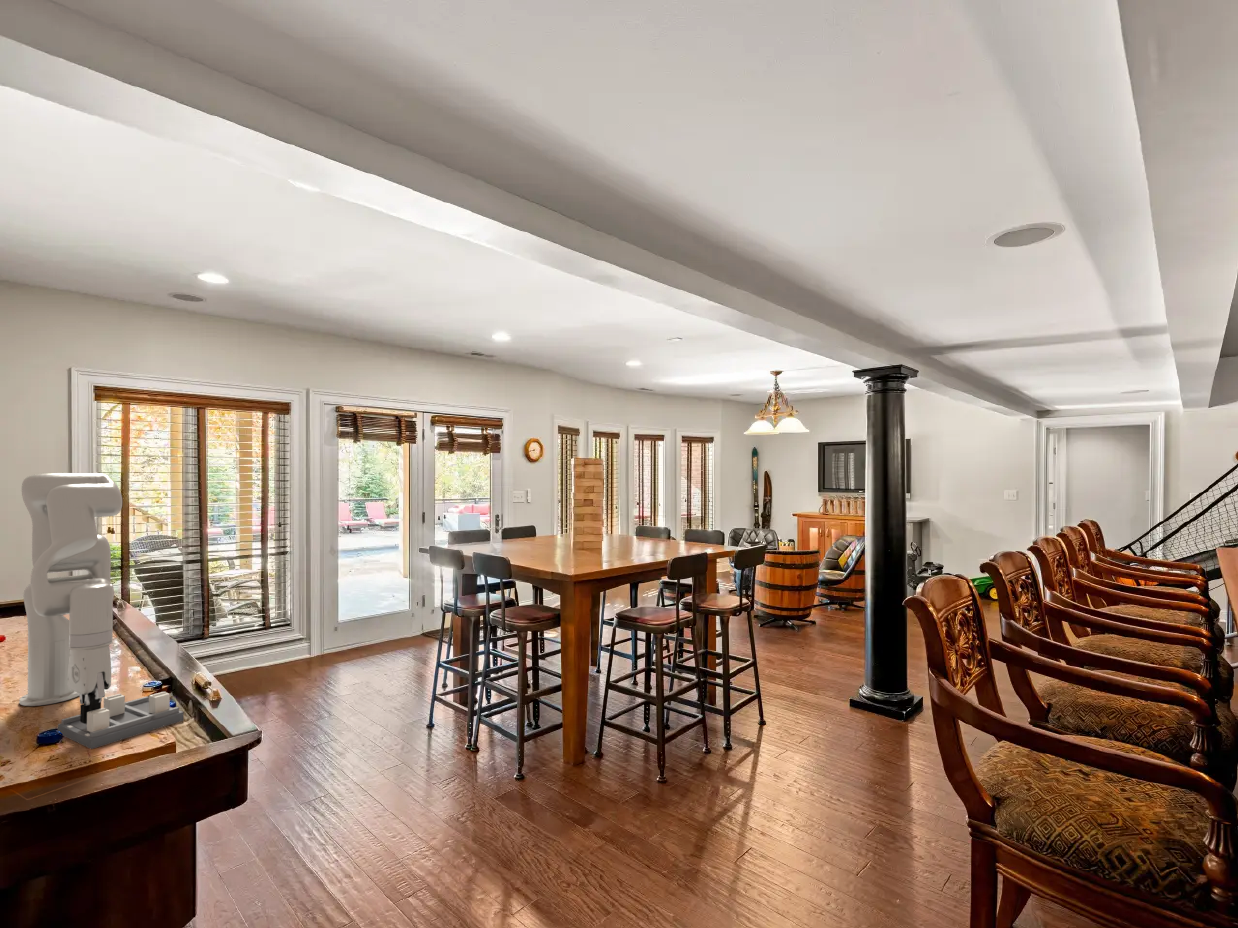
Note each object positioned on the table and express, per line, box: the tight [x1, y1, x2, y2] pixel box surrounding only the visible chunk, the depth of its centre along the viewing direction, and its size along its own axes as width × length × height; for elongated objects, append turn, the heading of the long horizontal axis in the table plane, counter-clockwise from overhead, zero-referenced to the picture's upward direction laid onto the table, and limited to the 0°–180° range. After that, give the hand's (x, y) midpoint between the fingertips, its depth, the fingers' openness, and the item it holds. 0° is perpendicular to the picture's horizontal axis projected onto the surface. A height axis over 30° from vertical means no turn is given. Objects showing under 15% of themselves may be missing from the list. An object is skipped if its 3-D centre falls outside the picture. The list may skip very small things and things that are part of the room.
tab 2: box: [103, 693, 126, 717], centre depth 149 cm, size 3×3×4 cm
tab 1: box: [87, 707, 110, 732], centre depth 140 cm, size 3×3×4 cm
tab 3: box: [148, 691, 171, 714], centre depth 151 cm, size 3×3×4 cm
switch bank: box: [57, 696, 185, 750], centre depth 147 cm, size 17×18×3 cm
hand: (90, 720), depth 142 cm, fingers closed
